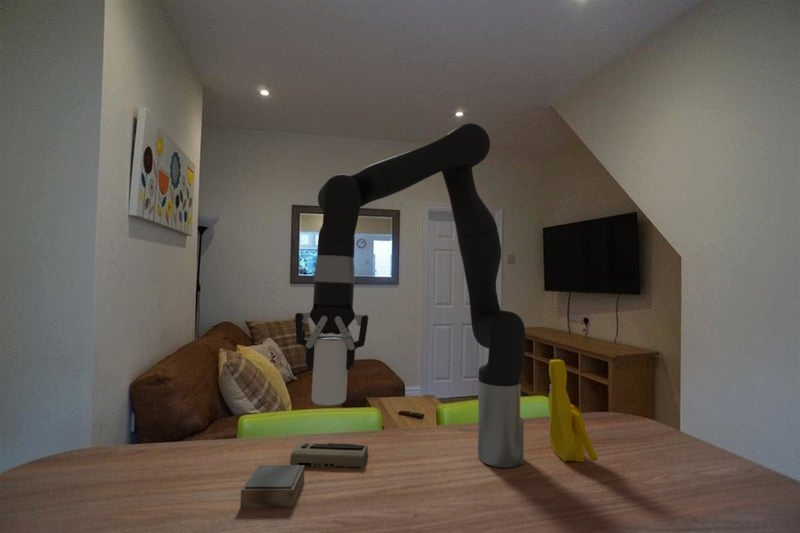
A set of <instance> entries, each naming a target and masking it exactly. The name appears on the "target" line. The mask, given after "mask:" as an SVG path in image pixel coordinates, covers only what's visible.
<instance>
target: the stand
mask: <svg viewBox="0 0 800 533" xmlns="http://www.w3.org/2000/svg"><path fill="white" fill-rule="evenodd" d="M305 467H306V465H290V464H260V465H259V464H258V466H257V467H255V470H254V471H253V472H252V473H251V475H250V476H249V478H248V479H247V481H245V482H246V483H244V485H243V486H242V488H241V489H240V505H239V506H240V509H261V508H262V509H268V508H271V509H272V508H273V509H274V508H276V509H277V508H278V509H280V508H282V509H283V508H285V509H287V508H289V509H290V508H291V509H292V508H294V506H295V504H296V501H297V499H298V496H299V494H300V493H301V490H302V487H303V485H304V483H305Z"/></svg>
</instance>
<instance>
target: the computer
mask: <svg viewBox="0 0 800 533" xmlns="http://www.w3.org/2000/svg"><path fill="white" fill-rule="evenodd" d="M368 447H369V446H368V444H356V443H355V444H353V443H352V444H351V443H329V442H328V443H313V442H310V443H309V442H300V443H298V445H297V446H296V447H295V448H294V449H293V450H292V451H291V453H290V459H289V460H290V461H289V465H299V464H308V465H307V466H310V467H312V468H313V467H314V468H317V467H319V468H345V469H346V468H352V469H363V468H364V467H365V465H366V460H367V456H368Z"/></svg>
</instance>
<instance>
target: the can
mask: <svg viewBox="0 0 800 533" xmlns="http://www.w3.org/2000/svg"><path fill="white" fill-rule="evenodd" d="M347 350H348V346H347V344H346V342H345V340H344V339H343V336H342V335H320V336H319V337H318V338H317V341H316V343H315V344H314V361H313V369H312V382H311V402H313V404H314V405H317V406H322V407H337V406H341V405H343V404H344V403H345V402H346V401H347V390H348V371H349V370H347V369H346V361H347Z"/></svg>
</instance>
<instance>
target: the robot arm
mask: <svg viewBox="0 0 800 533" xmlns="http://www.w3.org/2000/svg"><path fill="white" fill-rule="evenodd" d="M490 141H491V139H490V137H489V134H488V133H487V131H486V130H485V129H484V128H483V127H482V126H481V125H479V124H476V123H471V122H470V123H465V124H462V125H459V126H457V127H456V128H454V129H453V130H451V131H450V132H448V133H447V134H446V135H445V136H442V137H440V138H439V139H437V140H435V141H432V142H430V143H428V144H426V145H423V146H421V147H418V148H416V149H413V150H410V151H406V152H404V153H401V154H397V155H396V156H395V155H394V156H392V157H389V158H386V159H383V160H381V161H377V162H375V163H373V164H370V165H368V166H366V167H364V168H363V169H361V170H360V171H358V172H357V173H355V174H351V175H348V174H346V173H345V174H344V173H343V174H342V173H340V174H336V175H333V176H331V177H330V178H329V179H328V180H326V182H325V183H324V184H323V186H322V187H321V188H320V190H319V191H318V195H317V203H318V206H319V208H320V209H321V210H322V212H323V215H322V223H321V224H322V225H321V227H320V229H319V233H318V237H317V254H316V262H315V267H314V274H313V278H314V282H313V285H314V286H313V299H312V300H313V303H312V308H311V310H310V311H309V312H303V311H300V312H296V313H295V315H294V317H295V318H294V319H295V321H294V322H295V338H296V339H295V340H296V341H295V342H296V344H297V345H299V346H302V347H305V349H306V350H305V365H306V366H308V370H310V369H312V370H313V361H314V346H315V344H316V342H317V338H318V337H319V336H322V335H323V334H324V335H328V334H329V335H330V334H332V335H341V336H343V339H344V340H345V342H346V344H347V346H348V350H347V361H346V369H347V370H348V371H350V370H351V368H353V367H354V364H355V361H356V360H355V358H356V349H358V348H362V347H364V346H365V342H366V338H367V337H366V336H367V330H368V323H369V315H368V314H360V313H359V314H358V313H355V311H354V290H355V272H356V271H355V240H356V239H355V235H356V229H357V225H358V219H359V216H360V209H361V208H362V207H363V206H366V205H367V204H369V203H371V202H374V201H377V200H381V199H384V198H387V197H389V196H392V195H394V194H397V193H399V192H402V191H404V190H406V189H408V188H410V187H412V186H414V185H417V184H418V183H420V182H421V181H424V180H426V179H428V178H430V177H432V176H435V175H436V174H439V173H442V177H443V179H444V184H445V185H446V189H447V192H448V198H449V201H450V206H451V212H452V215H453V216H452V217H453V221H454V226H455V229H456V230H455V231H456V236H457V242H458V247H459V252H460V257H461V260H462V265H463V271H464V276H465V282H466V286H467V292H468V297H469V298H468V299H469V308H470V309H469V311H470V321H471V328H472V333H473V337H474V339H475V341H476V342H477V343H478V344H479V345H480V346H481V347H483V348H485V349H488V358H487V362H486V364H484V365H481V366H479V368H478V382H477V383H478V391H477V392H478V396H477V397H478V399H477V400H478V406H477V410H478V411H477V412H478V413H477V414H478V418H477V420H478V421H477V422H478V424H477V427H478V428H477V431H478V432H477V437H478V438H477V456H478V459H479V460H480V461H481V462H482V463H484V464H487V465H489V466H492V467H495V468H514V467H517V466H519V465H524V464H525V462H524V457H525V455H524V454H525V452H524V449H525V446H524V445H525V444H524V441H525V440H524V439H525V438H524V436H525V435H524V434H525V433H524V430H525V428H524V427H525V426H524V422H525V421H524V419H523V418H522V417H521V376H522V374H523V371H524V368H525V358H526V354H525V353H526V328H525V323H524V321H523V319H522V318H521V316H520V315H518V314H517V313H516V312H513V311H508V310H502V309H501V307H500V303H499V297H498V293H497V278H498V273H499V269H500V265H501V264H500V263H501V260H502V245H501V240H500V234H499V230H498V226H497V223H496V219H495V218H494V215H492V213H491V212H490V209H488V207H487V206H486V204H485V203H484V201H483V200H482V199H481V197H480V195H479V193H478V191H477V188H476V183H475V180H474V174H473V173H474V172H473V167H476V166H477V165H479V164H481V163H482V161H483V160H485V159H486V157H487V156H488V154H489V152H490V150H491V149H490V148H491V142H490ZM309 319H311V321H312V322H313V325H314V326H315V328H314V330H312V333H311V334H310V337H309V338H307V337H306V324H307V323H308V322H309ZM354 320H355V321H356V325H357V326H358V327H359V334H358V339H357V340H354V339H353V336H352V333H351V331H350V329H349V326H350V325H351V324H352V322H353V321H354ZM321 334H322V335H321Z"/></svg>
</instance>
